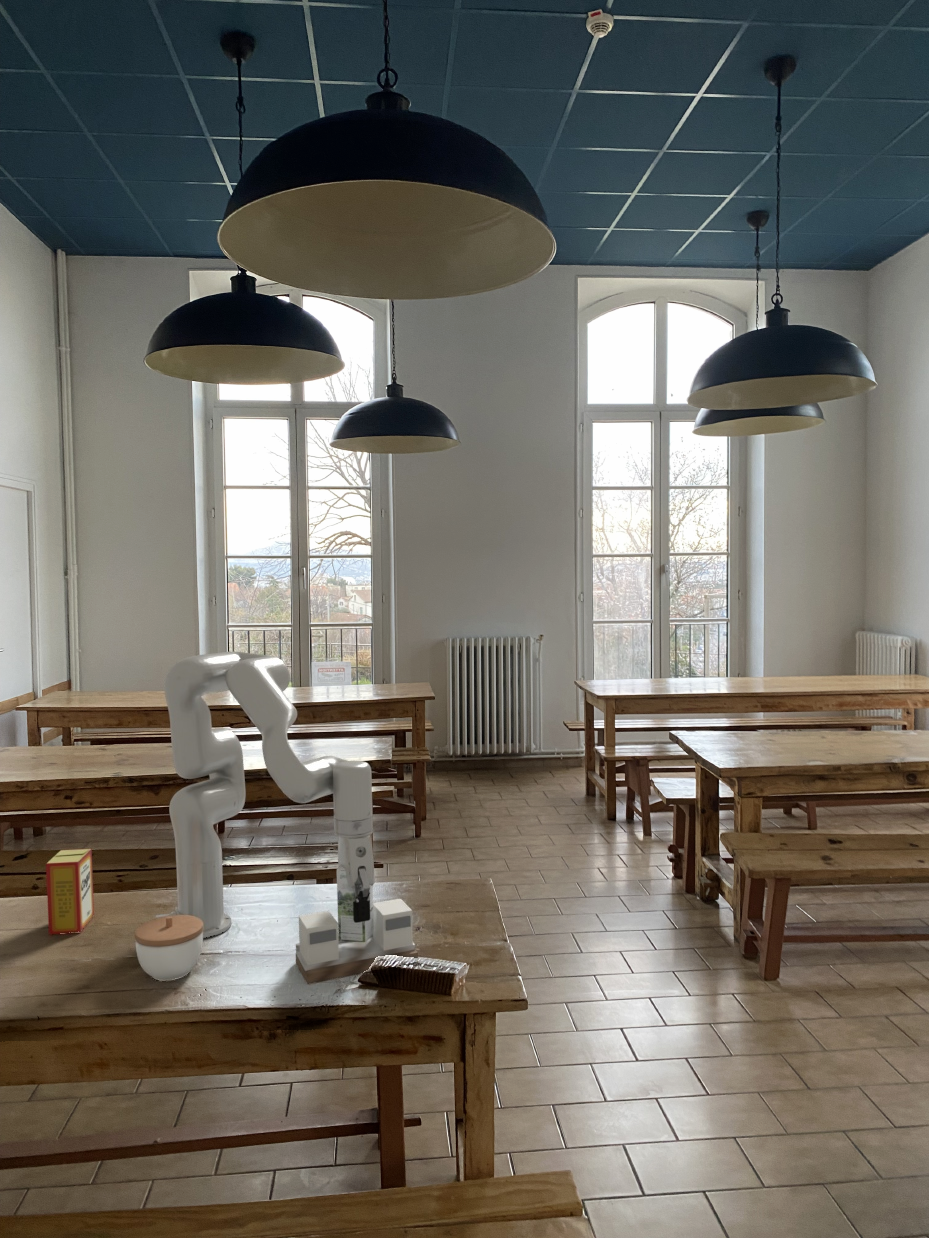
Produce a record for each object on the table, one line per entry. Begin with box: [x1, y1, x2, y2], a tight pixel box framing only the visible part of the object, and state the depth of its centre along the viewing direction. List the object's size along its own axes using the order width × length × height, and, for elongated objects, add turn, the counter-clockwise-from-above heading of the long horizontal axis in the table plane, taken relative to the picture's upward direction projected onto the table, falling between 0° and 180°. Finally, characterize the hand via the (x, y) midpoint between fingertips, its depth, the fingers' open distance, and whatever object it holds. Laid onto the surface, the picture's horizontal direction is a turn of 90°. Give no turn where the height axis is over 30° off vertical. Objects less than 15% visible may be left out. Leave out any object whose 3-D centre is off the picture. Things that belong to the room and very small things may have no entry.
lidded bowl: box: [134, 915, 204, 980], centre depth 171 cm, size 13×13×11 cm
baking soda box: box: [45, 848, 95, 936], centre depth 195 cm, size 10×6×16 cm
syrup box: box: [336, 865, 374, 942], centre depth 173 cm, size 6×6×14 cm
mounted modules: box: [298, 898, 414, 965], centre depth 173 cm, size 21×7×7 cm, turn 113°
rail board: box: [295, 933, 419, 985], centre depth 174 cm, size 22×10×4 cm, turn 113°
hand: (355, 912), depth 173 cm, fingers closed on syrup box, 7 cm apart
